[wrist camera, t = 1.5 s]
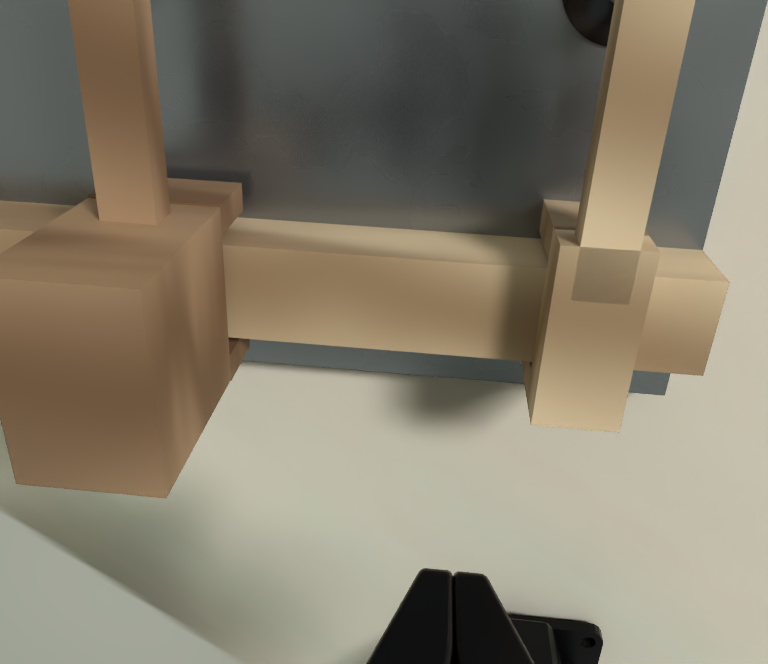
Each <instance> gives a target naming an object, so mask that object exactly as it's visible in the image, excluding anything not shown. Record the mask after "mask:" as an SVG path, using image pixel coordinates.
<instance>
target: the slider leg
mask: <svg viewBox="0 0 768 664" xmlns="http://www.w3.org/2000/svg"><path fill="white" fill-rule="evenodd" d="M68 5H69V12H70V19H71V26H72V33H73V40H74V47H75V54H76V61H77V68H78V75H79V82H80V89H81V96H82V102H83V109H84V116H85V123H86V130H87V137H88V144H89V151H90V158H91V165H92V172H93V179H94V186H95V191H94V192H93V193H91V194H90V195H88V198H87V199H86V200H84V201H82V202H81V203H79V204H78V205H76V206H75V207H73V208H72V209H70V210H68V211H67V212H65V213H64V214H62V215H61V216H59V217H57V218H56V219H54V220H53V221H51V222H50V223H48V224H46V225H45V226H43V227H42V228H40V229H39V230H37V231H35V232H34V233H32V234H31V235H29V236H28V237H26V238H25V239H23V240H21V241H20V242H18V243H17V244H15V245H14V246H12V247H10V248H9V249H7V250H6V251H4V252H3V253H1V254H0V419H1V423H2V427H3V432H4V436H5V440H6V444H7V448H8V452H9V456H10V461H11V465H12V469H13V473H14V477H15V481H16V484H22V485H33V486H43V487H54V488H64V489H74V490H85V491H95V492H106V493H116V494H127V495H137V496H148V497H158V498H167V496H168V494H169V492H170V490H171V489H172V487H173V485H174V483H175V481H176V479H177V477H178V476H179V474H180V472H181V470H182V468H183V466H184V465H185V463H186V461H187V459H188V457H189V455H190V454H191V452H192V450H193V448H194V446H195V444H196V443H197V441H198V439H199V437H200V435H201V433H202V431H203V430H204V428H205V426H206V424H207V422H208V420H209V419H210V417H211V415H212V413H213V411H214V409H215V408H216V406H217V404H218V402H219V400H220V398H221V396H222V395H223V393H224V391H225V389H226V387H227V385H228V384H229V382H230V381H231V380H232V378H233V376H234V374H235V373H236V371H237V369H238V367H239V365H240V363H241V362H242V360H243V358H244V356H245V354H246V352H247V350H248V349H249V347H250V343H249V339H243V338H231V337H228V323H227V307H226V291H225V275H224V260H223V244H222V235H223V234H224V232H225V231H226V230H227V229H228V228H229V227H230V225H231V224H232V223H233V222H234V221H235V220H236V218H237V217H238V216H239V215H240V214H241V213H242V211H243V199H242V183H236V182H221V181H206V180H192V179H177V178H167V170H166V160H165V150H164V139H163V129H162V118H161V108H160V98H159V87H158V77H157V67H156V56H155V46H154V35H153V25H152V15H151V4H150V0H68Z"/></svg>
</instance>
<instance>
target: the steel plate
mask: <svg viewBox="0 0 768 664" xmlns="http://www.w3.org/2000/svg"><path fill="white" fill-rule="evenodd" d="M150 4H151V15H152V25H153V35H154V46H155V56H156V67H157V77H158V87H159V98H160V108H161V118H162V129H163V139H164V150H165V160H166V170H167V178H177V179H192V180H206V181H221V182H236V183H242V199H243V211H242V213H241V214H240V215H239V216H238V217H241V218H255V219H269V220H283V221H297V222H311V223H326V224H340V225H354V226H368V227H382V228H396V229H410V230H425V231H439V232H453V233H467V234H481V235H495V236H509V237H524V238H538V239H541V235H540V232H539V228H540V221H541V215H542V208H543V201H544V199H545V200H560V201H575V202H580V200H581V194H582V188H583V182H584V177H585V171H586V165H587V159H588V153H589V148H590V142H591V136H592V130H593V124H594V119H595V113H596V107H597V101H598V95H599V90H600V84H601V78H602V72H603V66H604V60H605V55H606V49H607V43H608V37H609V31H610V26H611V20H612V14H613V8H614V3H613V2H611V1H610V0H150ZM766 4H767V0H695V5H694V9H693V14H692V18H691V23H690V28H689V32H688V37H687V41H686V46H685V50H684V55H683V60H682V64H681V69H680V73H679V78H678V82H677V87H676V92H675V96H674V101H673V105H672V110H671V114H670V119H669V124H668V128H667V133H666V137H665V142H664V146H663V151H662V156H661V160H660V165H659V169H658V174H657V178H656V183H655V188H654V192H653V197H652V201H651V206H650V210H649V215H648V220H647V224H646V229H645V231H646V232H647V233H648V235H649V236H650V238H651V239H652V241H653V242H654V243H655V245H656V246H657V247H665V248H679V249H693V250H703V246H704V242H705V239H706V235H707V231H708V227H709V223H710V219H711V216H712V212H713V208H714V204H715V200H716V196H717V192H718V189H719V185H720V181H721V177H722V173H723V169H724V166H725V162H726V158H727V154H728V150H729V146H730V143H731V139H732V135H733V131H734V127H735V123H736V120H737V116H738V112H739V108H740V104H741V100H742V96H743V93H744V89H745V85H746V81H747V77H748V73H749V70H750V66H751V62H752V58H753V54H754V50H755V47H756V43H757V39H758V35H759V31H760V27H761V23H762V20H763V16H764V12H765V8H766ZM94 191H95V186H94V179H93V172H92V165H91V158H90V151H89V144H88V137H87V130H86V123H85V116H84V109H83V102H82V96H81V89H80V82H79V75H78V68H77V61H76V54H75V47H74V40H73V33H72V26H71V19H70V12H69V5H68V0H0V201H14V202H28V203H42V204H57V205H71V206H76V205H78V204H79V203H81V202H82V201H84V200H86V199H87V198H88V195H90V194H91V193H93V192H94ZM249 343H250V347H249V349H248V350H247V352H246V354H245V356H244V358H243V360H244V361H256V362H268V363H280V364H292V365H304V366H316V367H328V368H340V369H352V370H364V371H377V372H389V373H401V374H413V375H425V376H437V377H449V378H461V379H473V380H485V381H497V382H509V383H521V384H524V378H523V372H522V365H521V361H515V360H502V359H490V358H477V357H465V356H453V355H440V354H428V353H416V352H403V351H391V350H379V349H366V348H354V347H342V346H329V345H317V344H305V343H292V342H280V341H268V340H255V339H249ZM669 377H670V373H663V372H650V371H638V370H633V374H632V379H631V383H630V387H629V392H630V393H642V394H654V395H665V392H666V388H667V385H668V381H669Z"/></svg>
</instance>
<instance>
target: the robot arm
mask: <svg viewBox="0 0 768 664" xmlns="http://www.w3.org/2000/svg"><path fill="white" fill-rule="evenodd" d="M588 637H590V638H588ZM602 646H603V639H602V634H601V630H600V629H599V627H598V626H596V625H595V624H591V623H585V622H575V621H566V620H556V619H546V618H536V617H526V616H517V615H508V614H507V613H506V611H505V609H504V607H503V605H502V603H501V602H500V600H499V598H498V596H497V594H496V592H495V591H494V589H493V587H492V585H491V583H490V581H489V580H488V578H487V577H486V576H485V575H483V574H479V573H469V572H456V573H455V574H454V575H452V573H451V572H450V571H448V570H438V569H428V568H424V569H422V570H420V571H419V573H418V574H417V576H416V578H415V580H414V581H413V583H412V585H411V587H410V588H409V590H408V592H407V594H406V595H405V597H404V599H403V601H402V602H401V604H400V606H399V608H398V609H397V611H396V613H395V615H394V616H393V618H392V620H391V622H390V623H389V625H388V627H387V629H386V630H385V632H384V634H383V636H382V637H381V639H380V641H379V643H378V644H377V646H376V648H375V650H374V651H373V653H372V655H371V657H370V658H369V660H368V662H367V664H598V661H599V657H600V653H601V650H602Z"/></svg>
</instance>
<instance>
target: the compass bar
mask: <svg viewBox="0 0 768 664" xmlns="http://www.w3.org/2000/svg"><path fill="white" fill-rule="evenodd" d="M610 1H611V2H613V3H614V8H613V14H612V20H611V26H610V31H609V37H608V43H607V49H606V55H605V60H604V66H603V72H602V78H601V84H600V90H599V95H598V101H597V107H596V113H595V119H594V124H593V130H592V136H591V142H590V148H589V153H588V159H587V165H586V171H585V177H584V182H583V188H582V194H581V200H580V202H575V201H560V200H545V199H544V201H543V208H542V215H541V221H540V228H539V232H540V235H541V239H538V238H524V237H509V236H495V235H481V234H467V233H453V232H439V231H425V230H410V229H396V228H382V227H368V226H354V225H340V224H326V223H311V222H297V221H283V220H269V219H255V218H241V217H237V218H236V220H235V221H234V222H233V223H232V224H231V225H230V227H229V228H228V229H227V230H226V231H225V232H224V234H223V235H222V244H223V260H224V275H225V291H226V307H227V323H228V337H231V338H243V339H255V340H268V341H280V342H292V343H305V344H317V345H329V346H342V347H354V348H366V349H379V350H391V351H403V352H416V353H428V354H440V355H453V356H465V357H477V358H490V359H502V360H515V361H521V365H522V372H523V378H524V384H525V391H526V397H527V403H528V409H529V416H530V422H531V425H536V426H547V427H559V428H571V429H582V430H594V431H605V432H617V433H619V430H620V426H621V422H622V417H623V413H624V409H625V404H626V400H627V396H628V392H629V387H630V383H631V379H632V374H633V370H638V371H650V372H663V373H675V374H687V375H700V376H703V374H704V371H705V367H706V364H707V360H708V357H709V353H710V350H711V346H712V343H713V339H714V336H715V332H716V329H717V325H718V322H719V318H720V315H721V311H722V308H723V304H724V301H725V297H726V294H727V290H728V287H729V283H730V282H729V281H728V280H727V278H726V277H725V276H724V275H723V274H722V273H721V271H720V270H719V269H718V268H717V267H716V265H715V264H714V263H713V262H712V261H711V260H710V258H709V257H708V256H707V255H706V254H705V253H704V251H703V250H693V249H679V248H665V247H657V246H656V245H655V243H654V242H653V241H652V239H651V238H650V236H649V235H648V233H647V232H646V231H645V229H646V224H647V220H648V215H649V210H650V206H651V201H652V197H653V192H654V188H655V183H656V178H657V174H658V169H659V165H660V160H661V156H662V151H663V146H664V142H665V137H666V133H667V128H668V124H669V119H670V114H671V110H672V105H673V101H674V96H675V92H676V87H677V82H678V78H679V73H680V69H681V64H682V60H683V55H684V50H685V46H686V41H687V37H688V32H689V28H690V23H691V18H692V14H693V9H694V5H695V0H610ZM73 207H75V206H71V205H57V204H42V203H28V202H14V201H0V254H1V253H3V252H4V251H6V250H7V249H9V248H10V247H12V246H14V245H15V244H17V243H18V242H20V241H21V240H23V239H25V238H26V237H28V236H29V235H31V234H32V233H34V232H35V231H37V230H39V229H40V228H42V227H43V226H45V225H46V224H48V223H50V222H51V221H53V220H54V219H56V218H57V217H59V216H61V215H62V214H64V213H65V212H67V211H68V210H70V209H72V208H73Z"/></svg>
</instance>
